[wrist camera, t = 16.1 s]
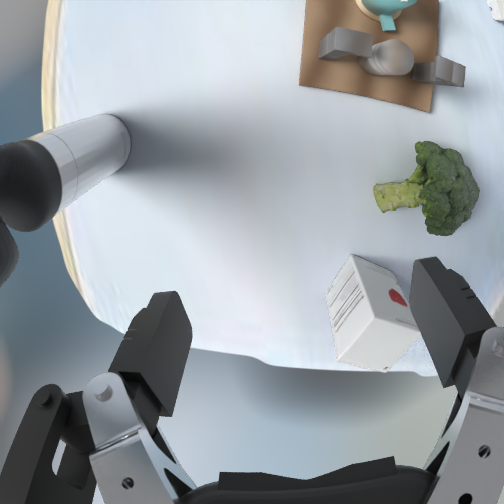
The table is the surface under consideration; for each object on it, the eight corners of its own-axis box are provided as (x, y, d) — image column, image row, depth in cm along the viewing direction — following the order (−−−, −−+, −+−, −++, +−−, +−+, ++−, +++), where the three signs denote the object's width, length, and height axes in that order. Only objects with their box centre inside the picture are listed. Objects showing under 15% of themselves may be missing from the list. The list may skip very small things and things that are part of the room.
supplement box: (394, 270, 48) (425, 333, 35) (365, 309, 52) (386, 375, 40) (350, 251, 47) (375, 316, 34) (323, 294, 51) (335, 363, 38)
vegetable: (357, 141, 36) (469, 122, 27) (382, 170, 46) (468, 158, 37) (367, 235, 35) (489, 224, 26) (389, 244, 45) (480, 237, 36)
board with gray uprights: (298, 85, 35) (310, 84, 25) (308, -34, 26) (321, -72, 15) (424, 111, 35) (471, 125, 24) (433, 0, 26) (479, -17, 15)
